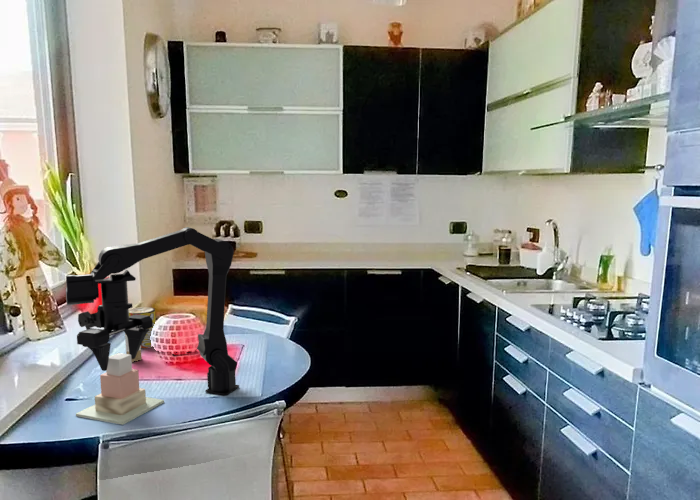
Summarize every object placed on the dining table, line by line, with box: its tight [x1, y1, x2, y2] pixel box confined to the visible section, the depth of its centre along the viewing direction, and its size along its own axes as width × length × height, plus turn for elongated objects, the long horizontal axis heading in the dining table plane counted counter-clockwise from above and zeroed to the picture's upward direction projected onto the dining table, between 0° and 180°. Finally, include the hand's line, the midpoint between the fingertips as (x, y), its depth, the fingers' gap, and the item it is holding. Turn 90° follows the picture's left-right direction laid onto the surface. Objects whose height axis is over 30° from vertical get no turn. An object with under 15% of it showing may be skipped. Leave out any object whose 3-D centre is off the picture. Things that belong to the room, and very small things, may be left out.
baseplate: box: [75, 396, 165, 426], centre depth 136 cm, size 14×14×1 cm
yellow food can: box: [129, 306, 156, 350], centre depth 189 cm, size 9×9×12 cm
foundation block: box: [94, 387, 147, 415], centre depth 136 cm, size 8×8×4 cm
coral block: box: [99, 368, 140, 399], centre depth 135 cm, size 6×6×5 cm
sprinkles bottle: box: [124, 334, 143, 363], centre depth 172 cm, size 5×5×13 cm
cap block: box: [105, 352, 133, 376], centre depth 135 cm, size 4×4×4 cm
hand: (118, 364), depth 135 cm, fingers open, 9 cm apart
